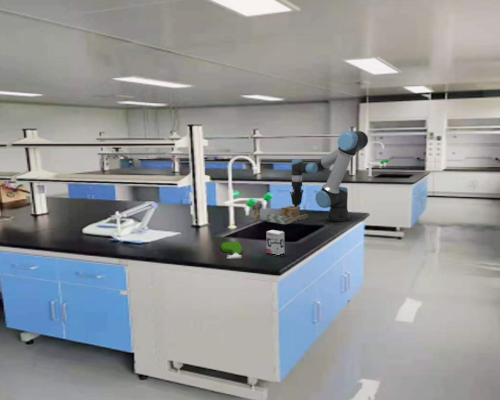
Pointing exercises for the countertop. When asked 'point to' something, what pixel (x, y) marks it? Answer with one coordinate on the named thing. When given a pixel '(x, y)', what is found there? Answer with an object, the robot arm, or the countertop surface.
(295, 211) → the crate
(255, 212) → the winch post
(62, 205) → the countertop surface
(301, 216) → the bay
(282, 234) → the ink box
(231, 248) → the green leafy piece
